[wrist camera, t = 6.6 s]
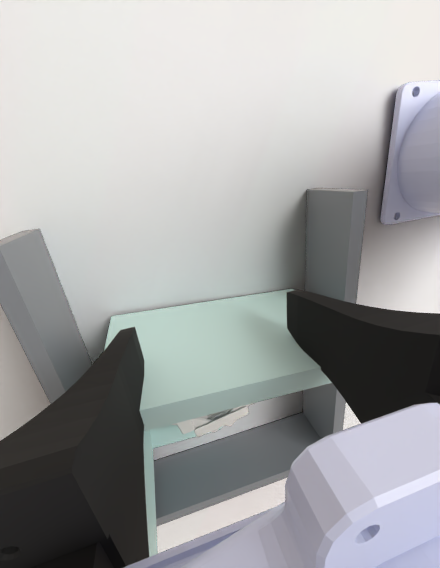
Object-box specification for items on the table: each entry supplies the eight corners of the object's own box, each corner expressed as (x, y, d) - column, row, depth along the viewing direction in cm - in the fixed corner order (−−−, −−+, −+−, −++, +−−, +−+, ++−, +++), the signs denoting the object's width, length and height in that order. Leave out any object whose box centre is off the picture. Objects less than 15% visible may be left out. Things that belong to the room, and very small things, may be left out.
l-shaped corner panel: (141, 451, 20) (141, 588, 13) (111, 316, 15) (88, 422, 9) (281, 412, 23) (340, 509, 16) (292, 288, 18) (379, 352, 12)
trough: (318, 187, 16) (367, 189, 12) (310, 415, 24) (339, 457, 20) (21, 231, 13) (-27, 250, 9) (124, 477, 21) (119, 540, 17)
